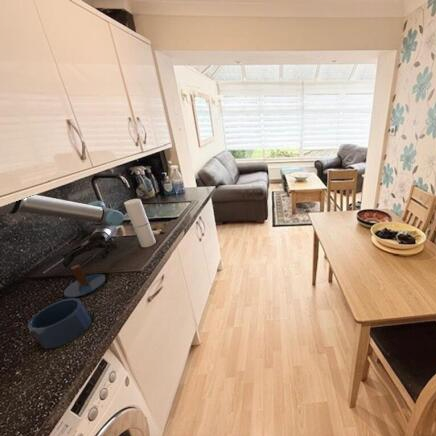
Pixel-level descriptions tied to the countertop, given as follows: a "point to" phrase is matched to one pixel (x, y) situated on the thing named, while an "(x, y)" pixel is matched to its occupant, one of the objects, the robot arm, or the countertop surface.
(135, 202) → the cylindrical container
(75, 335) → the pot
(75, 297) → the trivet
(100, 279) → the lid
